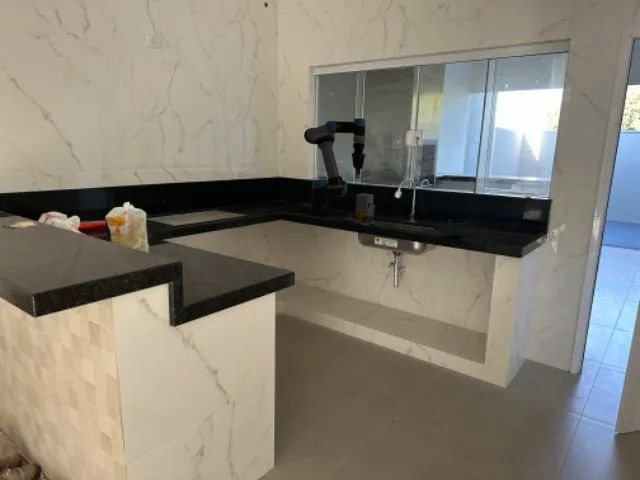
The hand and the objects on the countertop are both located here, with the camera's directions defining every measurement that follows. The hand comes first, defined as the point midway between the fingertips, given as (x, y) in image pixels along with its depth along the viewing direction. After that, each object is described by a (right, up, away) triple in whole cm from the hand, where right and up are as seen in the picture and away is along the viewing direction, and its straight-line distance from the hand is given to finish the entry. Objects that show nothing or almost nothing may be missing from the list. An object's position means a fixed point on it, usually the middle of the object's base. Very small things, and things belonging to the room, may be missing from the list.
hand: (357, 178), depth 300 cm
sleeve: (+2, -27, -9) cm, 29 cm away
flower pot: (+53, -39, -44) cm, 79 cm away
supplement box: (+6, -24, +15) cm, 29 cm away
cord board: (+2, -29, -9) cm, 30 cm away
